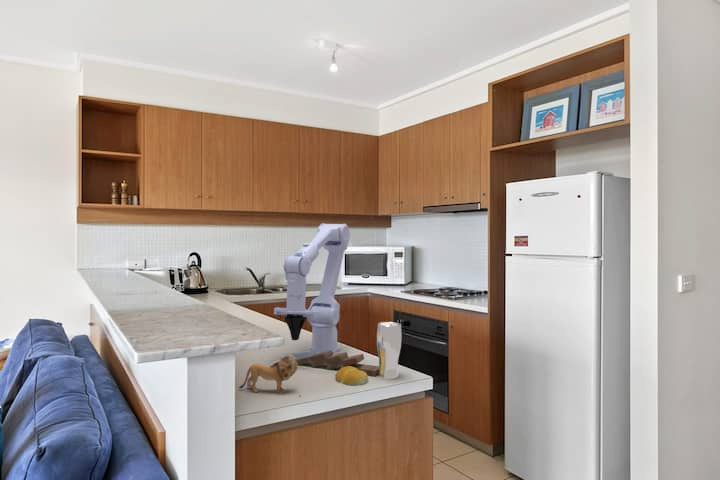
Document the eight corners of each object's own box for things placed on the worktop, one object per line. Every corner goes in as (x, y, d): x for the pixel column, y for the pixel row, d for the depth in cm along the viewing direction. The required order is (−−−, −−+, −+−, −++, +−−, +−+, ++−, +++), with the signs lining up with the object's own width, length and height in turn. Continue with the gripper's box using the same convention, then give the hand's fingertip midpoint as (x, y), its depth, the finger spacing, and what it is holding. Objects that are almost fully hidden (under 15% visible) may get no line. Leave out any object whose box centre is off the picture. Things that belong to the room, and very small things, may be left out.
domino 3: (310, 362, 146) (339, 355, 143) (318, 358, 151) (346, 351, 147) (312, 367, 146) (341, 360, 143) (319, 363, 151) (348, 357, 147)
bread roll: (351, 389, 129) (351, 374, 129) (330, 380, 136) (331, 366, 136) (374, 383, 134) (375, 368, 134) (353, 375, 141) (354, 361, 141)
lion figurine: (297, 387, 129) (298, 353, 129) (296, 394, 123) (297, 358, 123) (240, 387, 128) (241, 352, 128) (236, 394, 122) (237, 357, 122)
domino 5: (342, 366, 142) (374, 370, 139) (349, 362, 147) (380, 366, 143) (342, 372, 142) (374, 376, 139) (349, 367, 147) (380, 372, 143)
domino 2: (295, 360, 148) (324, 353, 145) (303, 356, 153) (331, 349, 149) (297, 365, 148) (325, 358, 145) (305, 361, 153) (333, 355, 149)
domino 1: (279, 358, 150) (307, 351, 147) (288, 354, 155) (315, 348, 151) (281, 363, 150) (309, 357, 147) (289, 359, 155) (316, 353, 151)
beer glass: (401, 380, 137) (403, 326, 136) (376, 380, 136) (378, 325, 136) (398, 373, 144) (400, 322, 143) (375, 372, 143) (376, 321, 143)
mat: (283, 358, 157) (283, 357, 157) (365, 370, 146) (365, 368, 146) (271, 364, 150) (271, 363, 150) (356, 376, 140) (356, 375, 140)
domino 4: (326, 364, 144) (356, 357, 141) (333, 360, 149) (362, 353, 145) (327, 369, 144) (358, 362, 141) (335, 365, 149) (364, 358, 145)
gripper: (268, 295, 150) (267, 339, 150) (311, 298, 145) (310, 344, 145) (280, 292, 157) (280, 335, 157) (322, 295, 151) (321, 340, 151)
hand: (295, 339), depth 151 cm, fingers closed
